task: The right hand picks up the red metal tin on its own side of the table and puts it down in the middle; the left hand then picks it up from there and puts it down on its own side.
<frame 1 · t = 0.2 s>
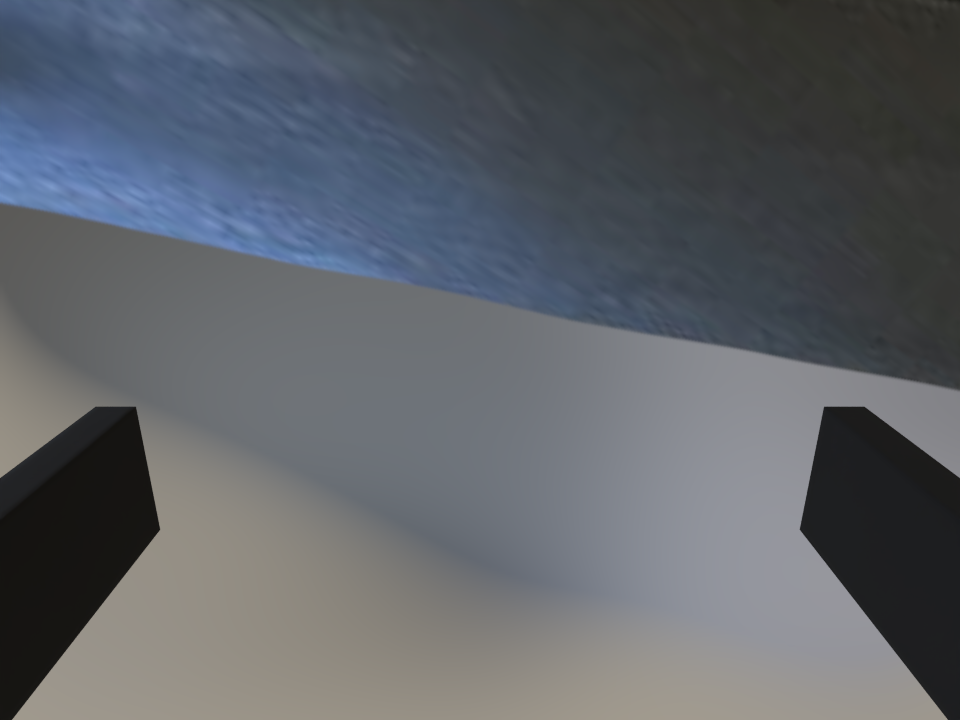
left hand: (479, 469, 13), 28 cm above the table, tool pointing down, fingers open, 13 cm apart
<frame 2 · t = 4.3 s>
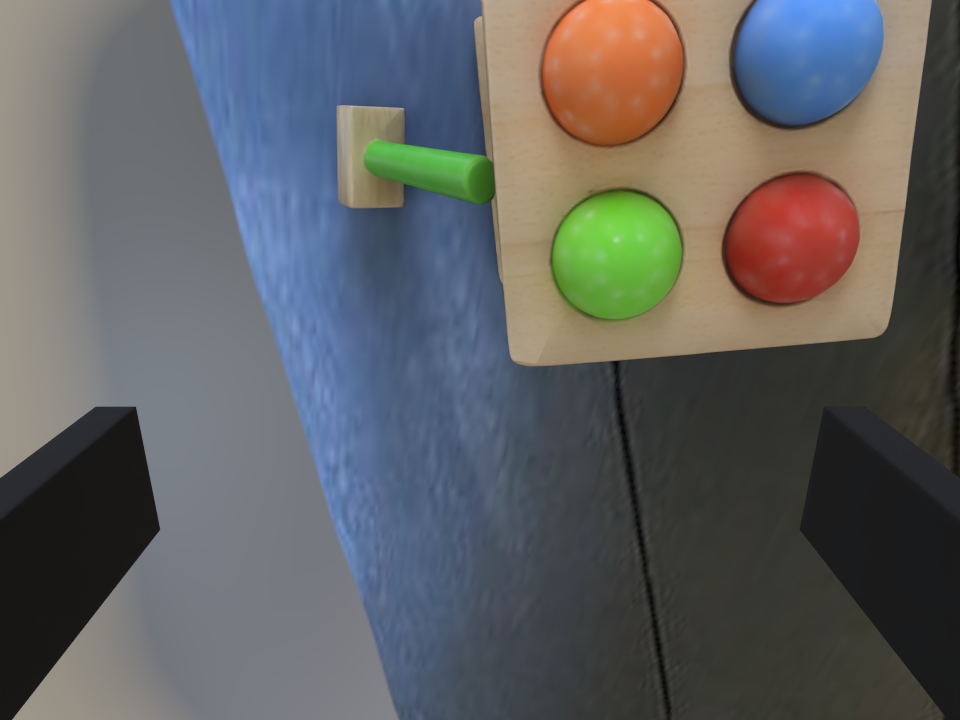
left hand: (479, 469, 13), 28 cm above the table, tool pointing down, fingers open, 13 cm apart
pounding bench toy: (538, 152, 38), on the table
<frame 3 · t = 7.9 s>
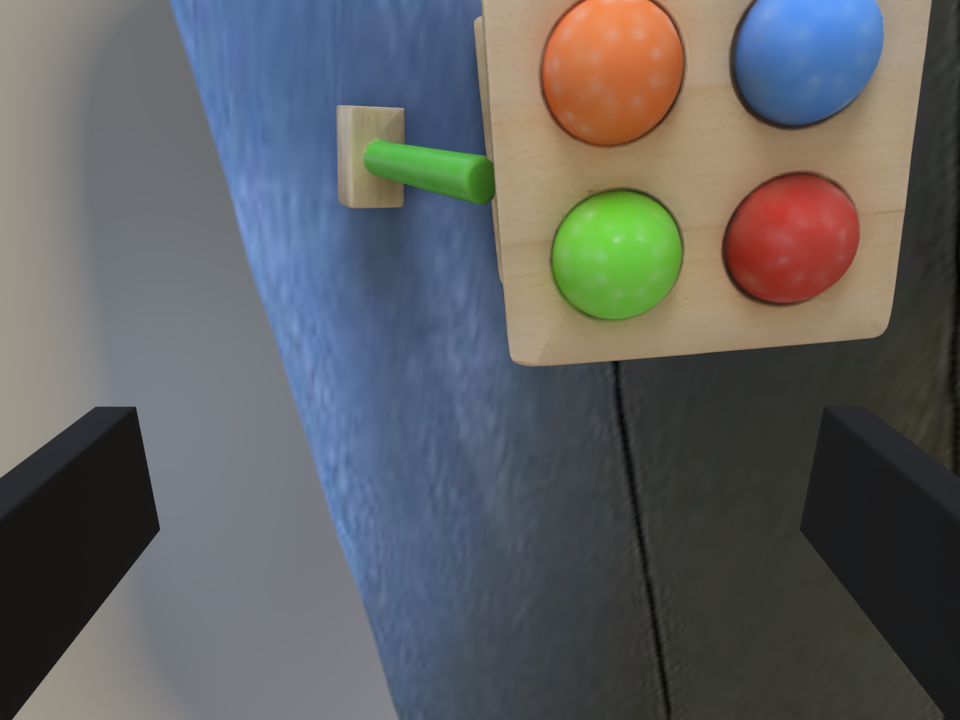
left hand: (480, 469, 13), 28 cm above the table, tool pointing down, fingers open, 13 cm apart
pounding bench toy: (538, 152, 38), on the table
when the right hand's fingers open (4 cm above the table, at t = 11.7 s): tin drops 1 cm, on the table.
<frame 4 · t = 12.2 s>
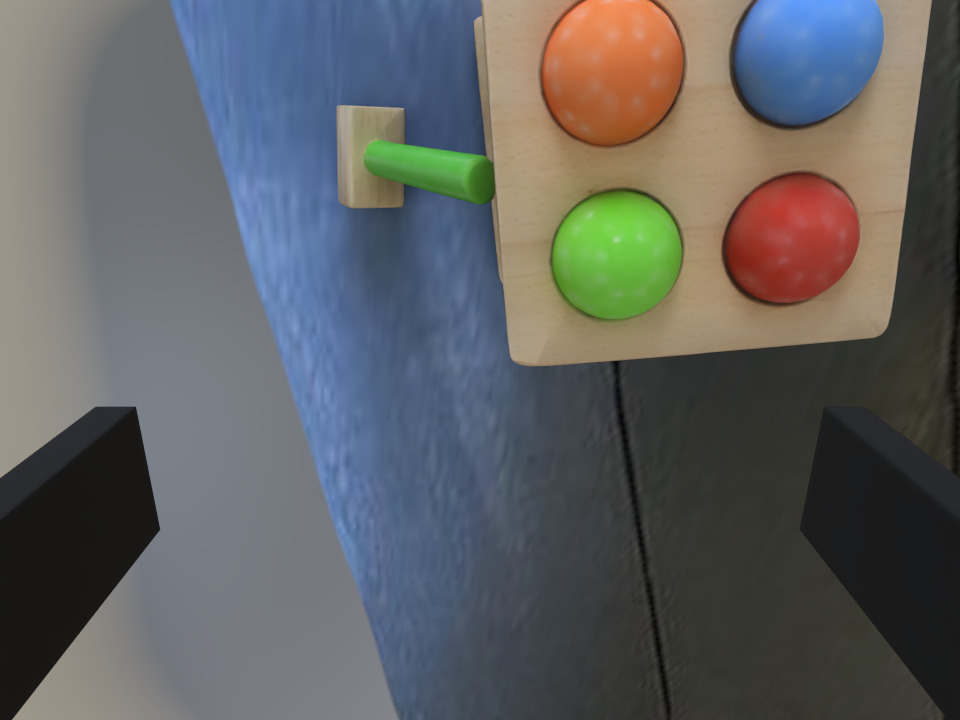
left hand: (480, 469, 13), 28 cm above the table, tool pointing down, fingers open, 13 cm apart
pounding bench toy: (538, 152, 38), on the table
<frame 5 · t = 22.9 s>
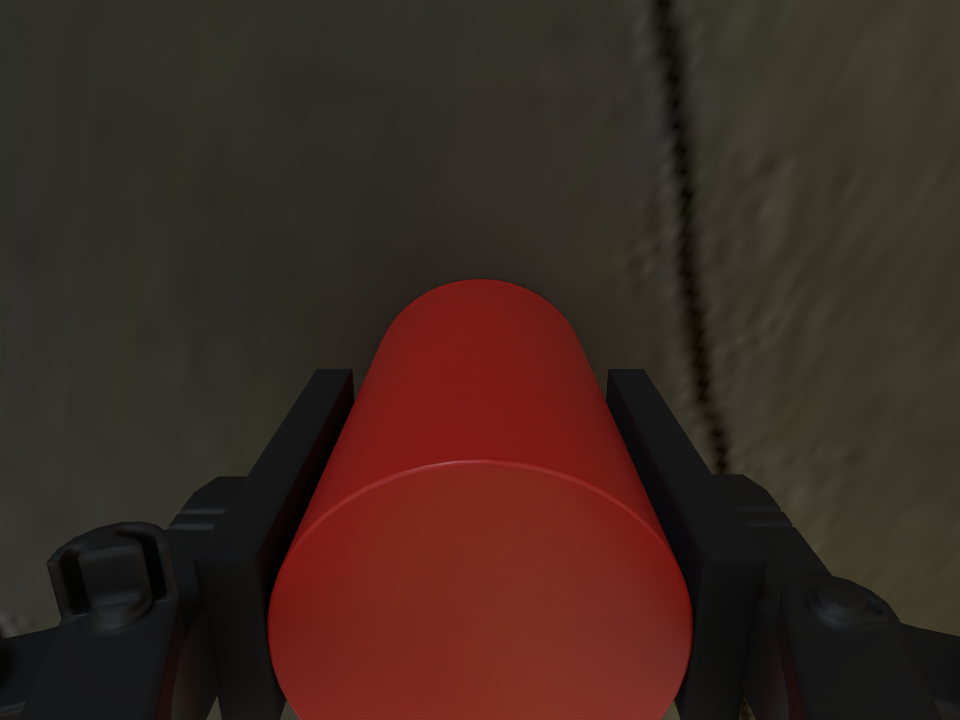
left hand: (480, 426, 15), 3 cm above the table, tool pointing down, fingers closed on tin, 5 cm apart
tin: (480, 382, 17), on the table, touching left hand
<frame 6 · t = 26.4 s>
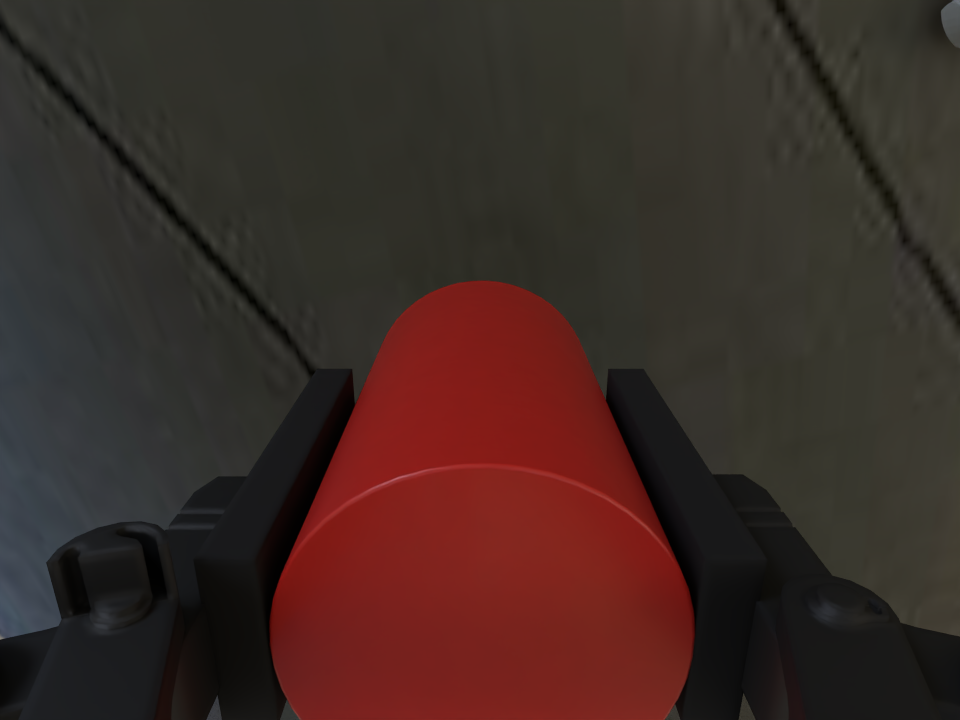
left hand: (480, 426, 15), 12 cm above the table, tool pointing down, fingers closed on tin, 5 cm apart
tin: (481, 383, 17), point 9 cm above the table, touching left hand
when the left hand's fingers open (4 cm above the table, at t = 30.3 s): tin drops 1 cm, on the table.
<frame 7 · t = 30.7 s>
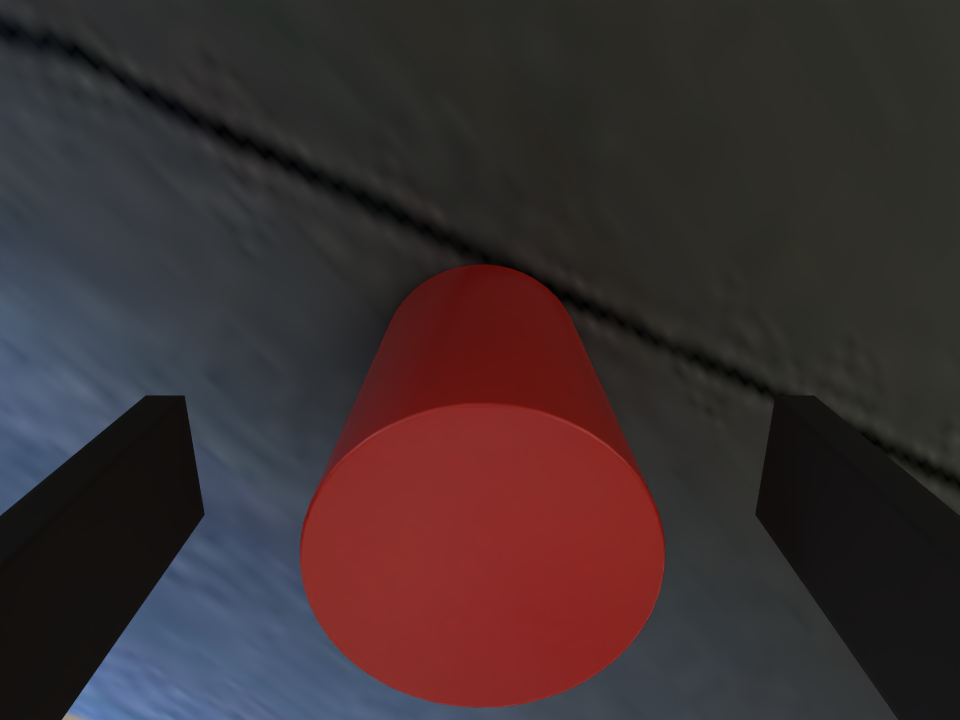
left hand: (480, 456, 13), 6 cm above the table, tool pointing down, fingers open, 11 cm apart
tin: (481, 360, 18), on the table
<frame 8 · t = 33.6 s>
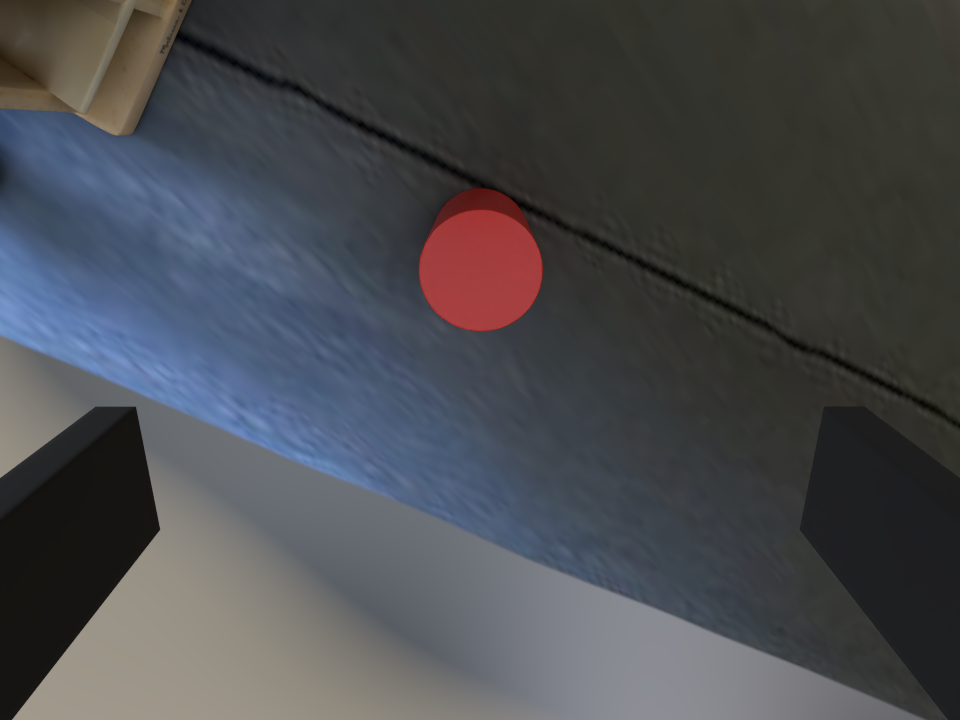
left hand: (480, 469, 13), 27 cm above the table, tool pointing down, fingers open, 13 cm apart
pounding bench toy: (26, 9, 34), on the table
tin: (480, 237, 38), on the table
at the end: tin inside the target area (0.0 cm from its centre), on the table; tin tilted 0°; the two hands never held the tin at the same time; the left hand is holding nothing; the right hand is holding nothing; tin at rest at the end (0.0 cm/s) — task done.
